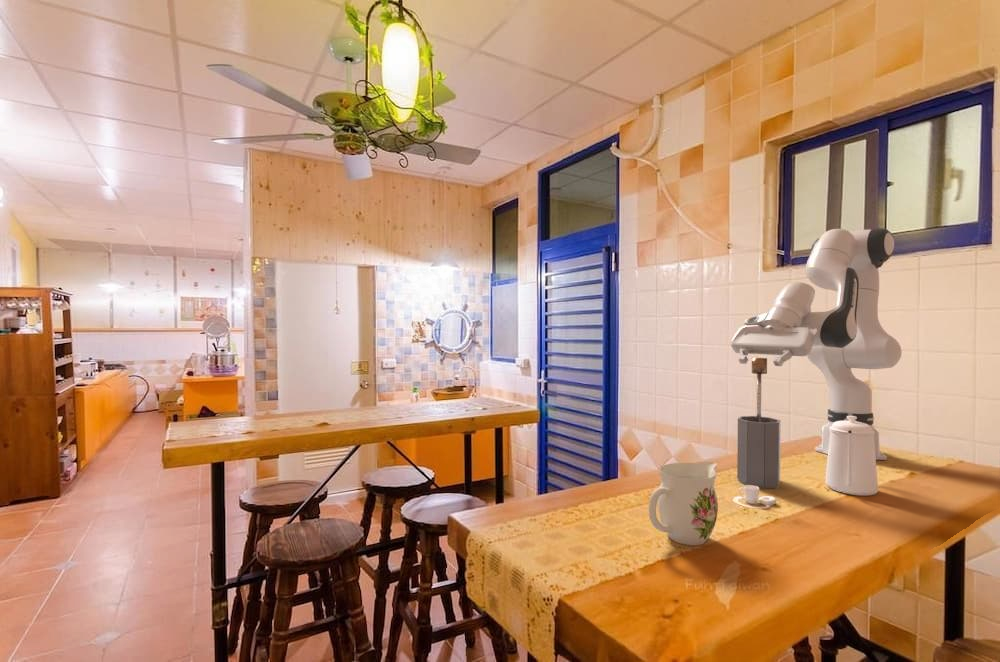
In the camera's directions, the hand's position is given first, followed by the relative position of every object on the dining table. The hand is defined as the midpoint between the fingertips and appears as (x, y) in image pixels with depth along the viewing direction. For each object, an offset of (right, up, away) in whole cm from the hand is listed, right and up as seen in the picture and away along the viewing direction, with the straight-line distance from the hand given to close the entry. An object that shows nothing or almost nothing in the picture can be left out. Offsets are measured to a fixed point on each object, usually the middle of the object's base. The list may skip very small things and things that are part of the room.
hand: (759, 363), depth 130 cm
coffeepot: (+20, -32, -5) cm, 38 cm away
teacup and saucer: (-8, -33, -17) cm, 38 cm away
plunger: (0, -22, 0) cm, 22 cm away
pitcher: (-33, -32, -34) cm, 57 cm away
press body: (+1, -32, +2) cm, 32 cm away
